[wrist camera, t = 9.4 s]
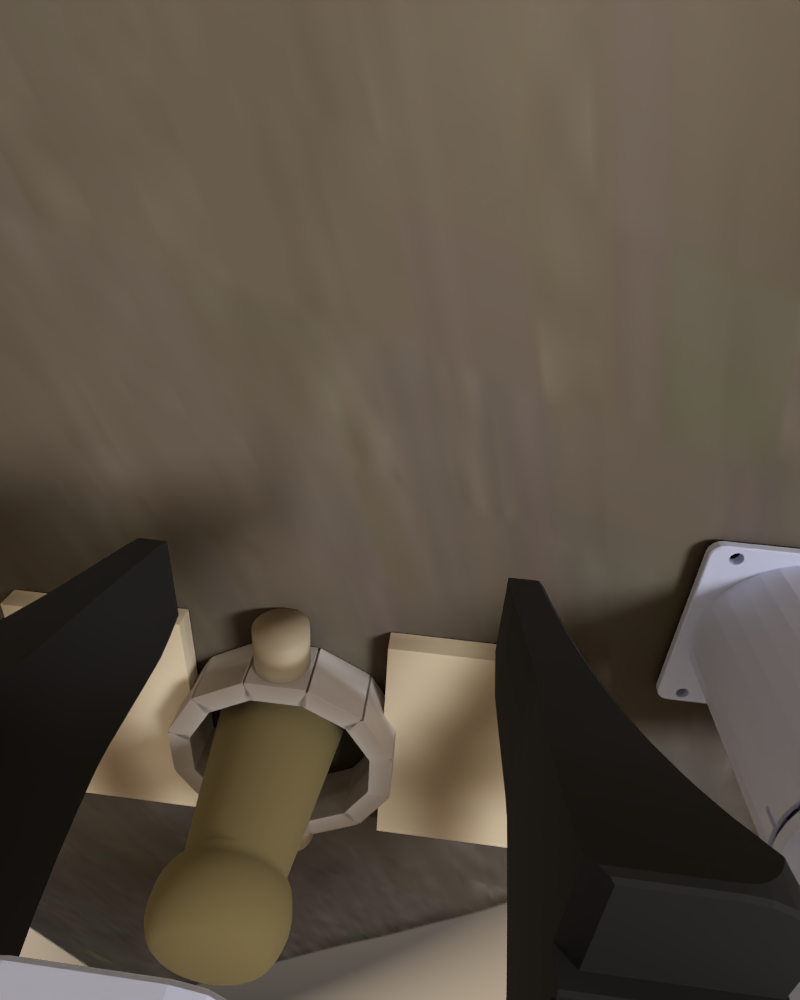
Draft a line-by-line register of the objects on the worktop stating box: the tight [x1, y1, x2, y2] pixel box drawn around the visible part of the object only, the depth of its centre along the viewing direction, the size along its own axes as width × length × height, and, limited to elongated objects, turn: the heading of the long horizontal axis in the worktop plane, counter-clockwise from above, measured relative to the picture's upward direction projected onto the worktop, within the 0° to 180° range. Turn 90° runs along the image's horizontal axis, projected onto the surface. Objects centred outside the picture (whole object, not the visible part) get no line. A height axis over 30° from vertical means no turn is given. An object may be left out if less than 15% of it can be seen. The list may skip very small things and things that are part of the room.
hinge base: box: [0, 590, 507, 852], centre depth 30 cm, size 25×14×2 cm, turn 87°
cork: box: [143, 700, 344, 986], centre depth 26 cm, size 6×6×11 cm
